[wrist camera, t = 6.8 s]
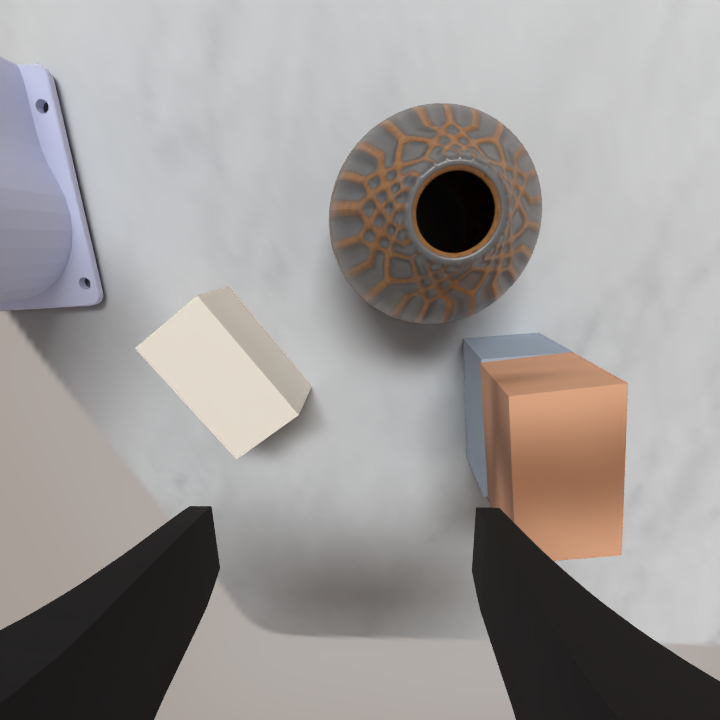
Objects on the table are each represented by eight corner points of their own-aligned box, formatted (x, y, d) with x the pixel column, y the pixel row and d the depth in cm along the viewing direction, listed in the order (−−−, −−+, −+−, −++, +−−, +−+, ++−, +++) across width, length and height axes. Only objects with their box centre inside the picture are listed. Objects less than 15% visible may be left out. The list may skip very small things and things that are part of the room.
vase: (489, 311, 19) (579, 368, 10) (336, 302, 19) (302, 350, 10) (513, 142, 17) (649, 40, 8) (343, 133, 17) (307, 24, 9)
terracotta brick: (572, 491, 17) (621, 555, 14) (488, 499, 17) (515, 563, 14) (571, 351, 15) (627, 383, 12) (479, 362, 16) (508, 396, 12)
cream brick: (177, 329, 20) (135, 348, 16) (230, 285, 19) (196, 295, 16) (260, 423, 21) (236, 459, 17) (312, 385, 20) (298, 414, 17)
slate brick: (462, 338, 19) (481, 359, 16) (537, 332, 19) (573, 352, 15) (465, 454, 21) (483, 497, 17) (535, 450, 21) (567, 492, 17)
